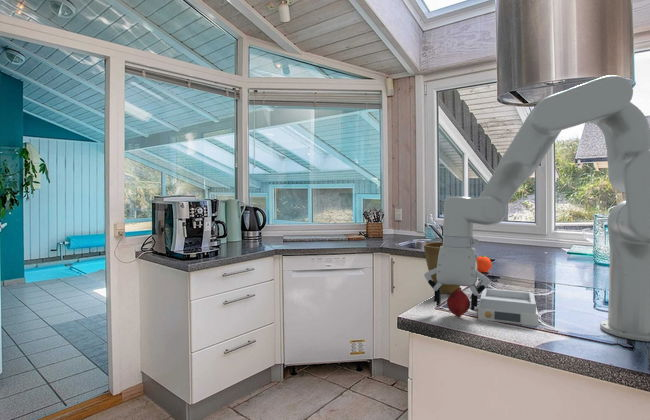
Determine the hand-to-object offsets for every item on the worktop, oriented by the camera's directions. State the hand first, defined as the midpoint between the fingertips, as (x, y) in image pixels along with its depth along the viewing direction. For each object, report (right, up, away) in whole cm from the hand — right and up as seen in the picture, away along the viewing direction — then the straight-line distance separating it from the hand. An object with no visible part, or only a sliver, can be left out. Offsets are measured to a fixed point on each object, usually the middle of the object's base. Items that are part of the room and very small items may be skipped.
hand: (455, 306), depth 106 cm
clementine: (+32, -1, +61) cm, 69 cm away
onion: (+1, -3, 0) cm, 3 cm away
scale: (+15, -3, +1) cm, 15 cm away
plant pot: (+6, -2, +28) cm, 29 cm away
